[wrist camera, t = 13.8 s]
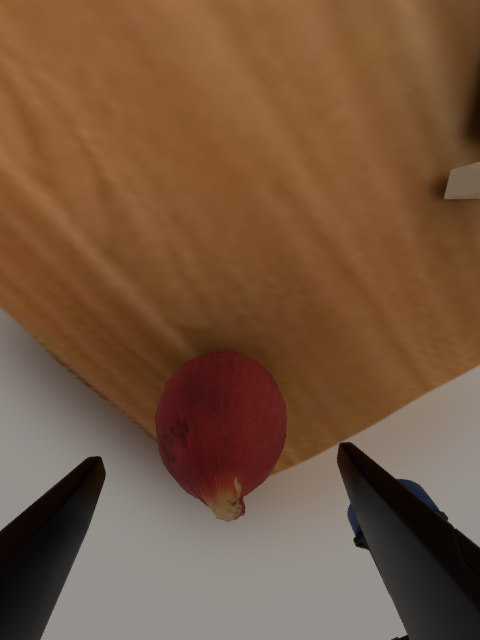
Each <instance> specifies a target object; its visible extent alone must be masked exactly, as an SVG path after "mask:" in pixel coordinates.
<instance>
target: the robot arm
mask: <svg viewBox="0 0 480 640" xmlns="http://www.w3.org/2000/svg"><path fill="white" fill-rule="evenodd" d="M337 463H338V467H339V470H340V473H341V476H342V479H343V482H344V485H345V488H346V490H347V494H348V497H349V499H350V502H351V505H352V508H353V511H354V513H355V516H356V518H357V520H358V523H359V525H360V527H361V531H360V532H359V533H358V534H357V535H356V536H355V537H354V539H353V541H354V543H355V546H356V547H359V548H363V549H367V550H369V551H370V553H371V555H372V557H373V560H374V562H375V564H376V566H377V568H378V571H379V573H380V575H381V577H382V579H383V582H384V584H385V586H386V588H387V591H388V593H389V595H390V596H391V598H392V600H393V602H394V604H395V607H396V609H397V611H398V614H399V616H400V618H401V621H402V623H403V625H404V627H405V630H406V632H407V634H408V635H406V636H403V637H401V638H398V637H396V638H394V639H391V640H480V547H479V546H477V545H476V544H475V543H473V542H472V541H471V540H470V539H468V538H467V537H466V536H465V535H464V534H462V533H461V532H460V531H459V530H457V529H454V527H453V526H452V525H451V524H450V523H449V522H448V517H447V516H446V514H445V513H444V512H442V511H438V510H435V509H432V508H431V507H429V506H428V505H427V504H426V503H424V502H423V501H422V500H421V499H420V498H418V497H417V496H416V495H415V494H413V493H412V492H411V491H410V490H409V489H407V488H406V487H405V486H404V485H402V484H401V483H400V482H399V481H398V480H396V479H395V478H394V477H393V476H391V475H390V474H389V473H388V472H387V471H385V470H384V469H383V468H382V467H380V466H379V465H378V464H377V463H376V462H374V461H373V460H372V459H371V458H369V457H368V456H367V455H366V454H364V453H363V452H362V451H361V450H360V449H359V448H357V447H356V446H355V445H354V444H352V443H350V442H343V443H340V444H339V448H338V455H337ZM105 475H106V472H105V468H104V464H103V461H102V458H101V457H99V456H96V457H95V456H94V457H88V458H87V459H85V460H84V461H83V462H82V463H81V464H79V465H78V466H77V467H76V468H75V469H73V470H72V471H71V472H70V473H69V474H68V475H66V476H65V477H64V478H63V479H62V480H60V481H59V482H58V483H57V484H56V485H55V486H53V487H52V488H51V489H50V490H48V491H47V492H46V493H45V494H44V495H43V496H41V497H40V498H39V499H38V500H37V501H35V502H34V503H33V504H32V505H31V506H29V507H28V508H27V509H26V510H25V511H23V512H22V513H21V514H20V515H19V516H18V517H17V518H15V519H14V520H13V521H12V522H10V523H9V524H8V525H7V526H6V527H4V528H3V529H2V530H1V531H0V640H40V639H41V637H42V634H43V632H44V630H45V628H46V625H47V623H48V621H49V618H50V616H51V613H52V611H53V609H54V607H55V604H56V602H57V600H58V597H59V595H60V593H61V591H62V588H63V586H64V584H65V581H66V579H67V577H68V574H69V572H70V570H71V567H72V565H73V563H74V560H75V558H76V556H77V554H78V551H79V549H80V546H81V544H82V542H83V540H84V537H85V535H86V532H87V530H88V528H89V525H90V522H91V519H92V516H93V513H94V510H95V507H96V504H97V501H98V498H99V495H100V492H101V489H102V486H103V483H104V480H105Z"/></svg>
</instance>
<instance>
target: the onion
mask: <svg viewBox="0 0 480 640" xmlns="http://www.w3.org/2000/svg"><path fill="white" fill-rule="evenodd" d="M155 420H156V432H157V440H158V447H159V453H160V456H161V459H162V461H163V464H164V465H165V467H166V468H167V470H168V471H169V473H170V474H171V475H172V476H173V478H174V479H175V480H176V481H177V482H178V483H179V485H180V486H181V487H182V488H183V489H184V490H185V491H186V492H187V493H189V494H190V495H192V496H194V497H196V498H198V499H200V500H201V501H202V502H203V503H204V504H206V505H207V506H208V507H209V508H210V509H212V511H213V513H214V515H215V516H216V518H217V519H223V520H225V521H228V522H229V521H232V520H235V519H238V518H239V517H240V516H243V515H244V513H245V505H244V502H243V496H245V495H247V494H249V493H250V492H252V491H253V490H254V489H255V488H257V487H258V486H259V485H260V484H262V483H263V482H264V481H265V480H266V479H267V478H268V476H269V475H270V473H271V472H272V470H273V468H274V466H275V464H276V462H277V460H278V458H279V456H280V454H281V452H282V449H283V447H284V443H285V438H286V421H287V415H286V404H285V402H284V399H283V397H282V395H281V392H280V390H279V388H278V385H277V383H276V382H275V380H274V378H273V376H272V375H271V374H270V373H269V372H268V371H267V370H266V369H264V368H263V367H262V366H261V365H260V364H259V363H258V362H257V361H255V360H253V359H250V358H248V357H246V356H243V355H241V354H238V353H236V352H211V353H208V354H205V355H203V356H200V357H197V358H195V359H192V360H190V361H189V362H188V363H186V364H185V365H184V366H183V367H182V368H180V369H179V370H178V371H177V372H176V373H175V374H174V375H173V376H172V378H171V379H170V381H169V382H168V383H167V385H166V388H165V390H164V392H163V394H162V397H161V399H160V401H159V403H158V407H157V412H156V416H155Z"/></svg>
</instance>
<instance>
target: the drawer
mask: <svg viewBox="0 0 480 640" xmlns="http://www.w3.org/2000/svg"><path fill="white" fill-rule="evenodd" d="M444 199H480V161H479V162H476V163H472V164H469V165H466V166H462V167H459V168H455V169H452V170H451V171H450V175H449V179H448V183H447V187H446V191H445V195H444Z"/></svg>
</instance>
